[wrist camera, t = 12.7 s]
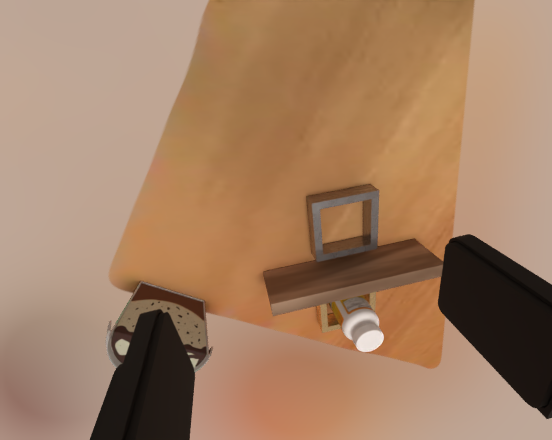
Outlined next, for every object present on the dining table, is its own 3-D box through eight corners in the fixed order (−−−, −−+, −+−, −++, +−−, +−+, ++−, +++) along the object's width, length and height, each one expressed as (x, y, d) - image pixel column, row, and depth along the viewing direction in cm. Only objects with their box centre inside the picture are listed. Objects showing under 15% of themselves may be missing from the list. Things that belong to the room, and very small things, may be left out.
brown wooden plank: (263, 271, 42) (270, 304, 36) (414, 238, 45) (445, 264, 39) (265, 282, 43) (273, 316, 37) (413, 249, 46) (443, 275, 40)
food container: (114, 310, 41) (85, 373, 32) (129, 277, 39) (103, 335, 30) (196, 332, 45) (191, 393, 36) (214, 303, 43) (212, 360, 34)
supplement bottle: (344, 311, 49) (371, 360, 40) (320, 300, 47) (343, 349, 38) (364, 287, 47) (397, 333, 39) (340, 275, 45) (369, 321, 37)
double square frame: (306, 196, 38) (311, 203, 36) (370, 184, 39) (379, 190, 37) (317, 321, 49) (322, 332, 47) (367, 309, 50) (374, 319, 48)
